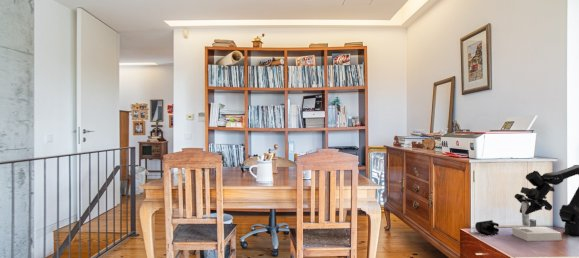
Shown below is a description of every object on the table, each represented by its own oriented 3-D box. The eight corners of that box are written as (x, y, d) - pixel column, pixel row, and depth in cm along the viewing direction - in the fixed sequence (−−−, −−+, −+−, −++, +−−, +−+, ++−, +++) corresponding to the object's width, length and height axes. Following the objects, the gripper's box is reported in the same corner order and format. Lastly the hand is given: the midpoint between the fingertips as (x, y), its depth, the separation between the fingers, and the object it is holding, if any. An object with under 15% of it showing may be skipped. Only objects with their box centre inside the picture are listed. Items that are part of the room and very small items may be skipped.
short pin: (533, 231, 178) (533, 219, 178) (537, 232, 175) (537, 220, 175) (528, 231, 178) (528, 219, 178) (532, 233, 175) (532, 220, 175)
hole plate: (544, 233, 173) (544, 226, 174) (561, 240, 162) (561, 232, 163) (512, 234, 174) (512, 227, 174) (527, 241, 163) (527, 233, 163)
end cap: (488, 230, 182) (487, 219, 182) (499, 234, 175) (499, 222, 175) (475, 232, 179) (474, 220, 179) (486, 236, 172) (485, 224, 173)
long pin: (527, 224, 169) (526, 201, 169) (530, 226, 166) (529, 202, 166) (521, 224, 170) (520, 201, 170) (523, 225, 167) (522, 202, 167)
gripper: (516, 179, 178) (499, 199, 177) (546, 184, 160) (527, 207, 158) (529, 192, 179) (512, 212, 178) (560, 199, 160) (542, 221, 159)
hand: (522, 213), depth 168 cm, fingers closed on long pin, 3 cm apart
